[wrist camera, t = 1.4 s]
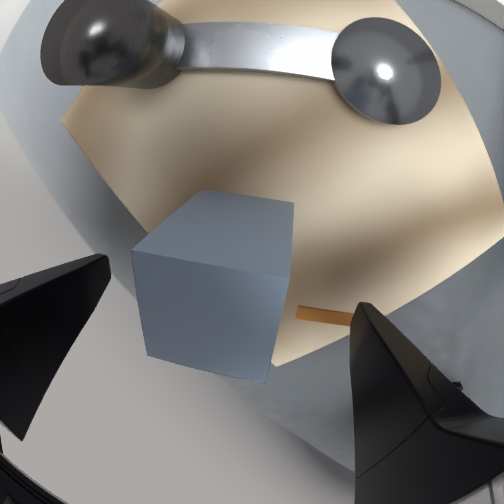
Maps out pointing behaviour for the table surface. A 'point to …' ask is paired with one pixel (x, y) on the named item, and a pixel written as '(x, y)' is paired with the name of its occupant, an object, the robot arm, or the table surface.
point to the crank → (242, 54)
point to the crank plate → (304, 169)
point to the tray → (487, 9)
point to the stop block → (216, 283)
